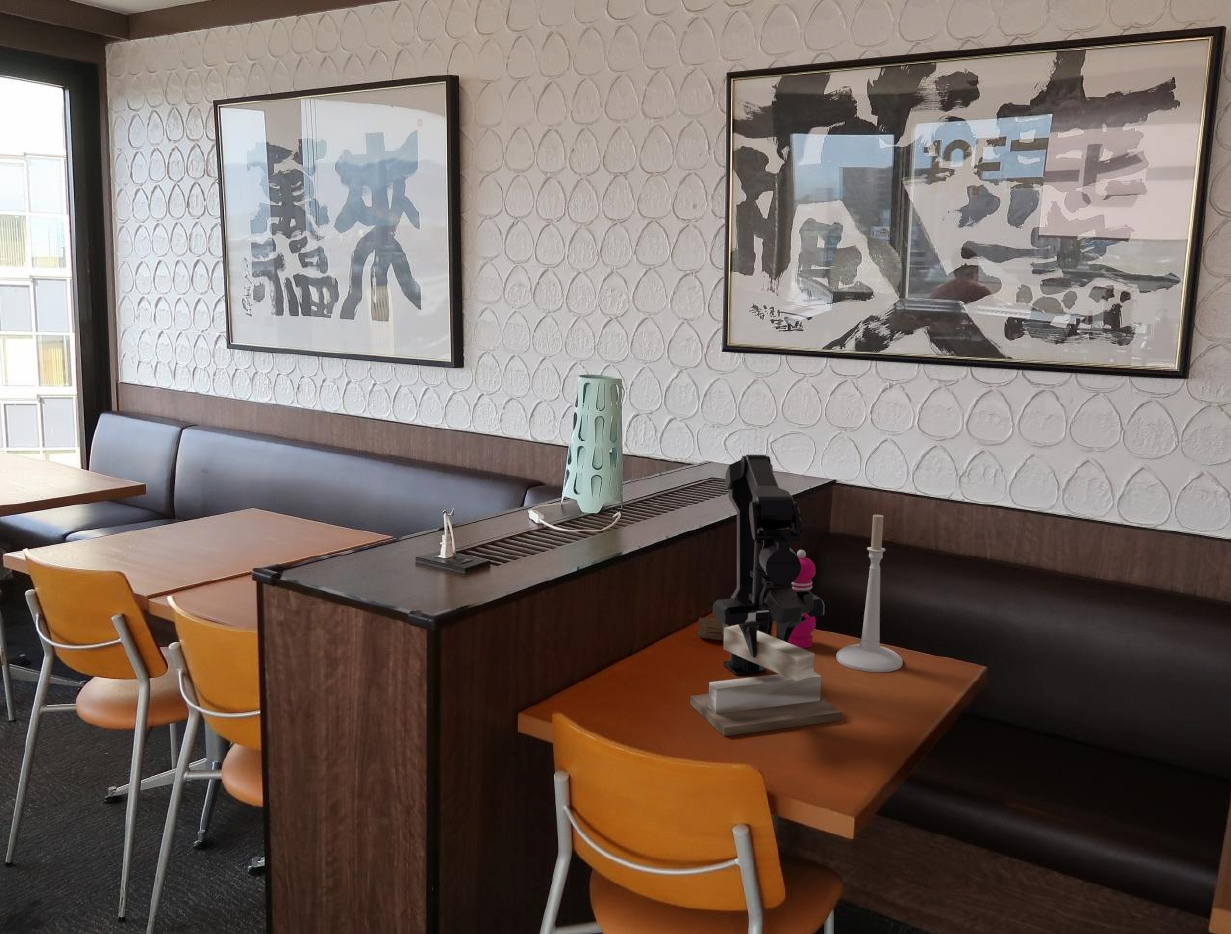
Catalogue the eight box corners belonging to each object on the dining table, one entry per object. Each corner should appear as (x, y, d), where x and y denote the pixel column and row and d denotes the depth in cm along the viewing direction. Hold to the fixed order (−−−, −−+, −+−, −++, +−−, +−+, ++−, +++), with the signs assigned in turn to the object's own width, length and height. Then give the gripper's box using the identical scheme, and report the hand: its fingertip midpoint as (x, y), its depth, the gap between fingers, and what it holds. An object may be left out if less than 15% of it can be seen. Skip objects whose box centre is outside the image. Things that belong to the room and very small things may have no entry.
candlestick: (862, 675, 199) (871, 522, 194) (823, 654, 210) (831, 508, 205) (916, 667, 204) (926, 517, 199) (875, 646, 216) (884, 504, 210)
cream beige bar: (723, 649, 185) (724, 627, 185) (740, 645, 188) (740, 623, 187) (796, 681, 171) (797, 658, 170) (813, 676, 173) (814, 653, 173)
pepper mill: (793, 635, 221) (797, 543, 218) (821, 644, 216) (826, 550, 213) (772, 642, 216) (776, 549, 213) (801, 652, 211) (805, 556, 208)
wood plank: (771, 640, 218) (772, 617, 217) (772, 644, 216) (773, 620, 215) (697, 637, 219) (698, 615, 218) (697, 641, 217) (698, 618, 216)
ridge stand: (690, 704, 184) (691, 671, 183) (800, 690, 191) (802, 659, 190) (723, 736, 171) (725, 701, 170) (841, 720, 178) (842, 687, 177)
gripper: (741, 585, 166) (738, 678, 169) (844, 576, 172) (838, 666, 175) (712, 567, 176) (709, 655, 179) (810, 559, 182) (805, 644, 185)
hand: (766, 655), depth 179 cm, fingers closed on cream beige bar, 5 cm apart
